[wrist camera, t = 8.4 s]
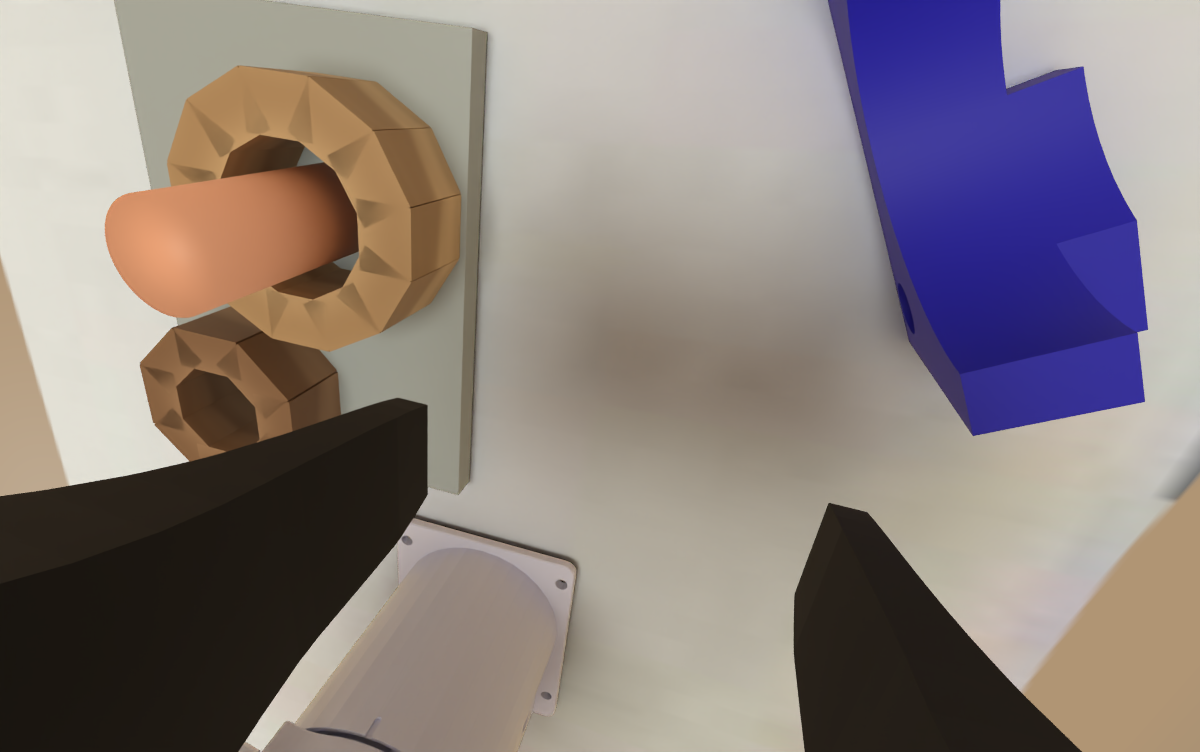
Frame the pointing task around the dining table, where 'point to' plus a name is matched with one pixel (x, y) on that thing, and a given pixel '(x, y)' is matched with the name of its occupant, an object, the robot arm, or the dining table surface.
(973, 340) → the blue curved cradle
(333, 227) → the orange rounded peg
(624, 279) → the dining table surface
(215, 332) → the walnut bead
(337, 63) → the board
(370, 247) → the oak bead
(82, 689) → the robot arm
